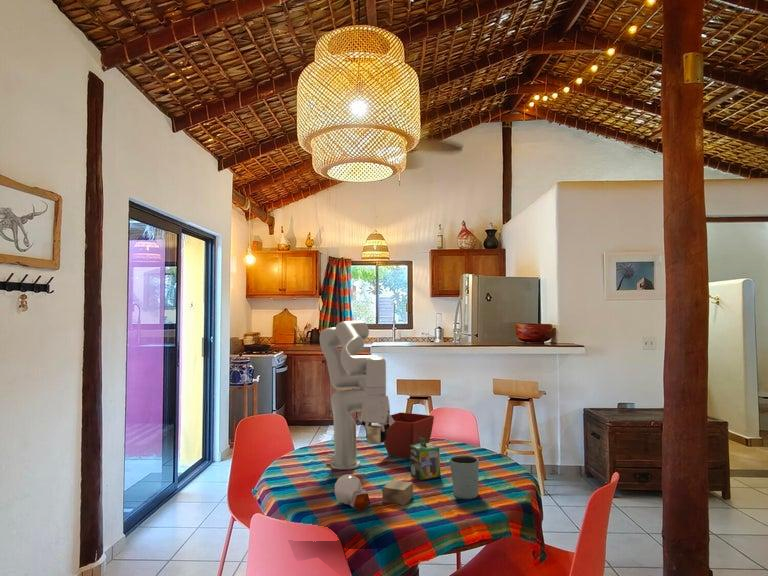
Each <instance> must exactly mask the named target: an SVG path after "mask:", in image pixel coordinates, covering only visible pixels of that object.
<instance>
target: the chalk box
mask: <svg viewBox="0 0 768 576" xmlns="http://www.w3.org/2000/svg"><path fill="white" fill-rule="evenodd" d="M419 439H420V442H421V444H415V445H410V459H409V460H410V475H412V476H413V477H415V478H416V479H418V480H419V481H423V480H429V479H434V478H435V479H436V478H441V477H442V476H441V474H442V473H441V472H442V471H441V459H440V458H441V457H440V446H438V445H435V444H433V443H430V442H429V443H426V442H425V439H424V438H421V437H419ZM422 440H423V442H424V443H422Z"/></svg>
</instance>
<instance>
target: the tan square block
mask: <svg viewBox="0 0 768 576" xmlns="http://www.w3.org/2000/svg"><path fill="white" fill-rule="evenodd" d="M381 489H382V493H381V494H382V502H383V503H390V504H396V505H402V506H405V505H406V504H408V503H409V501H410V500H411V499H412V498H414V482H411V481H403V480H402V481H401V480H395V479H391V480H390V481H389V482H387V483H386V484H385V485H383V486H382V487H381Z"/></svg>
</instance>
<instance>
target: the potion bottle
mask: <svg viewBox="0 0 768 576" xmlns="http://www.w3.org/2000/svg"><path fill="white" fill-rule="evenodd" d="M333 489H334V495H335V498H336V500H337V501H338V502H340V503H342V504H343V503H344V504H343V505H349V506H350V507H351V508H353V509H354V510H357V511H358V512H360V513H363V512H364V511H365V510H366V509H367V508H368V507H369V506H370V505H371V500H370V497H369V493H368V492H367V490H366V488H364V489H363V485H362V482H361V481H360V478H359V477H357V476H356V475H354V474H348V473H347V474H344V475H342V476H340V477H338V479H337V480H336V482H335V483H334V488H333Z"/></svg>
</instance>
